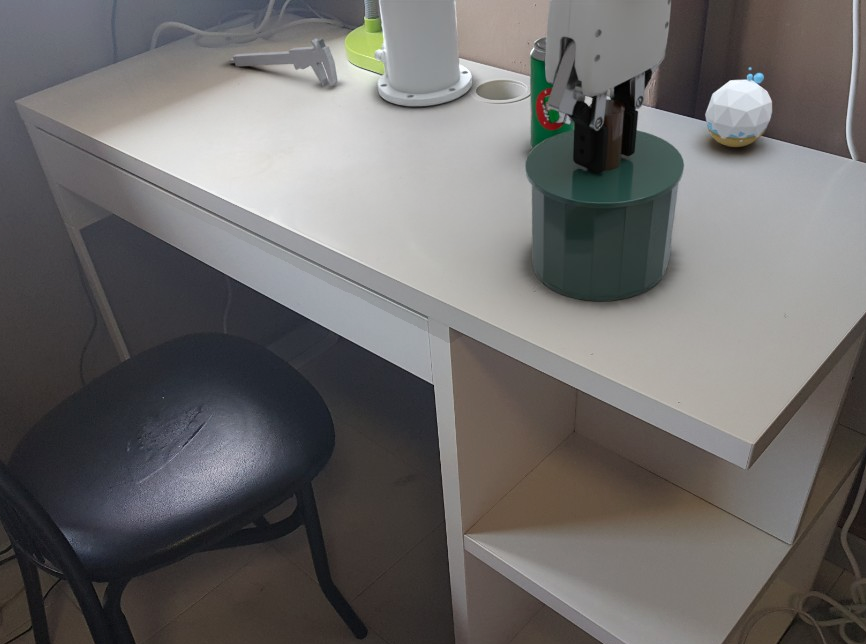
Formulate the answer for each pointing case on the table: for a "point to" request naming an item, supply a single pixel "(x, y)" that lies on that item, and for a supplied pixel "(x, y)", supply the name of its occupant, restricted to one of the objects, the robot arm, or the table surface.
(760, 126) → the ornament
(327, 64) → the caliper
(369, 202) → the table surface
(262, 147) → the table surface
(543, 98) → the soda can
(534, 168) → the lid
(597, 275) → the pot
